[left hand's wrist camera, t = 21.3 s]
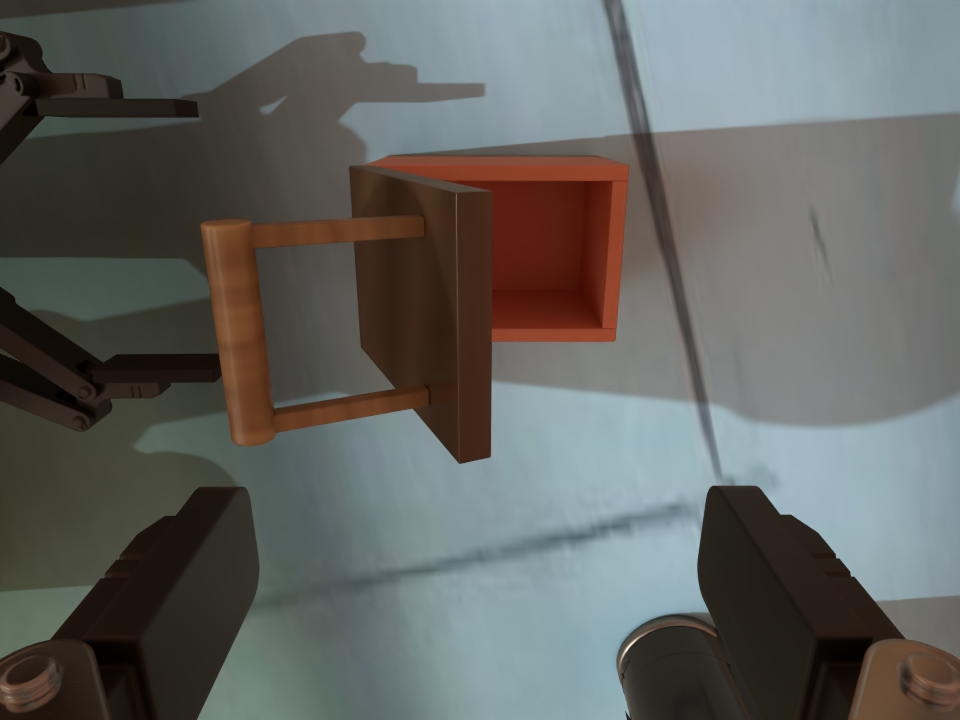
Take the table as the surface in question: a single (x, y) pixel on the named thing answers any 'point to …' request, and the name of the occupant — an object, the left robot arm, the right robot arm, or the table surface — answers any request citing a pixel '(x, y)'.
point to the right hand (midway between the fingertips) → (207, 246)
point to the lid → (374, 308)
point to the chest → (545, 240)
